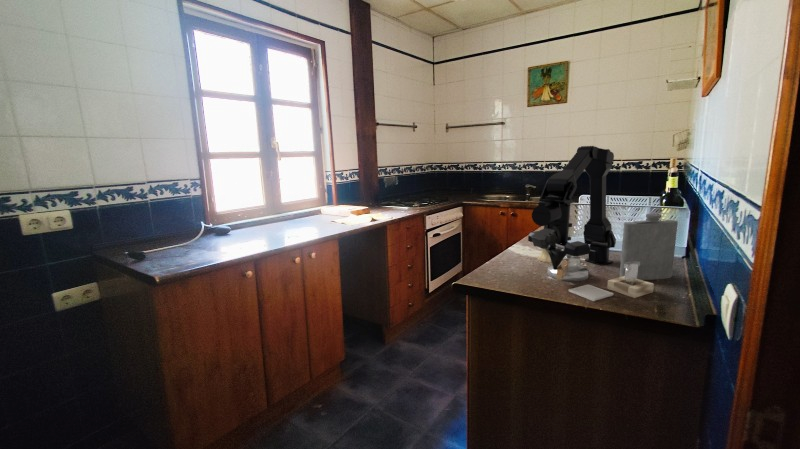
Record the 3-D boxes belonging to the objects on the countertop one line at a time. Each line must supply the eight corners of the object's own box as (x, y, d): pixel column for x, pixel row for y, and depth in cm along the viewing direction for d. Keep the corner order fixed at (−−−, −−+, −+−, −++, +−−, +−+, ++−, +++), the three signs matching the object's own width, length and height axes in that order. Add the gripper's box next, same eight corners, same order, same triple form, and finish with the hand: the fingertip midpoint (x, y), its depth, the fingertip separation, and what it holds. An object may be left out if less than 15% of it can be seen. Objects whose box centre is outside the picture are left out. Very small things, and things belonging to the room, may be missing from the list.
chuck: (558, 263, 123) (559, 241, 121) (581, 266, 119) (582, 243, 117) (546, 279, 109) (547, 254, 107) (572, 283, 105) (573, 257, 103)
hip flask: (666, 274, 116) (673, 211, 112) (676, 278, 112) (683, 214, 108) (617, 276, 115) (622, 214, 111) (625, 281, 111) (631, 216, 107)
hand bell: (563, 263, 130) (566, 219, 127) (539, 262, 132) (540, 219, 129) (558, 256, 138) (560, 215, 135) (535, 256, 140) (537, 215, 137)
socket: (625, 283, 109) (626, 275, 109) (653, 292, 102) (653, 283, 102) (607, 288, 106) (607, 280, 106) (634, 297, 99) (635, 289, 98)
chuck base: (565, 266, 126) (565, 261, 126) (596, 276, 116) (597, 270, 115) (539, 272, 121) (539, 267, 121) (569, 283, 111) (569, 277, 110)
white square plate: (587, 286, 108) (588, 284, 108) (613, 295, 101) (613, 293, 101) (568, 291, 105) (568, 289, 105) (593, 301, 98) (593, 299, 98)
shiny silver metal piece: (630, 287, 106) (632, 260, 105) (640, 290, 104) (643, 262, 102) (618, 290, 104) (621, 262, 103) (629, 293, 102) (631, 265, 100)
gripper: (515, 217, 113) (513, 264, 117) (564, 230, 97) (560, 285, 100) (542, 213, 118) (540, 258, 121) (593, 224, 101) (589, 277, 105)
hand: (555, 269), depth 112 cm, fingers closed
